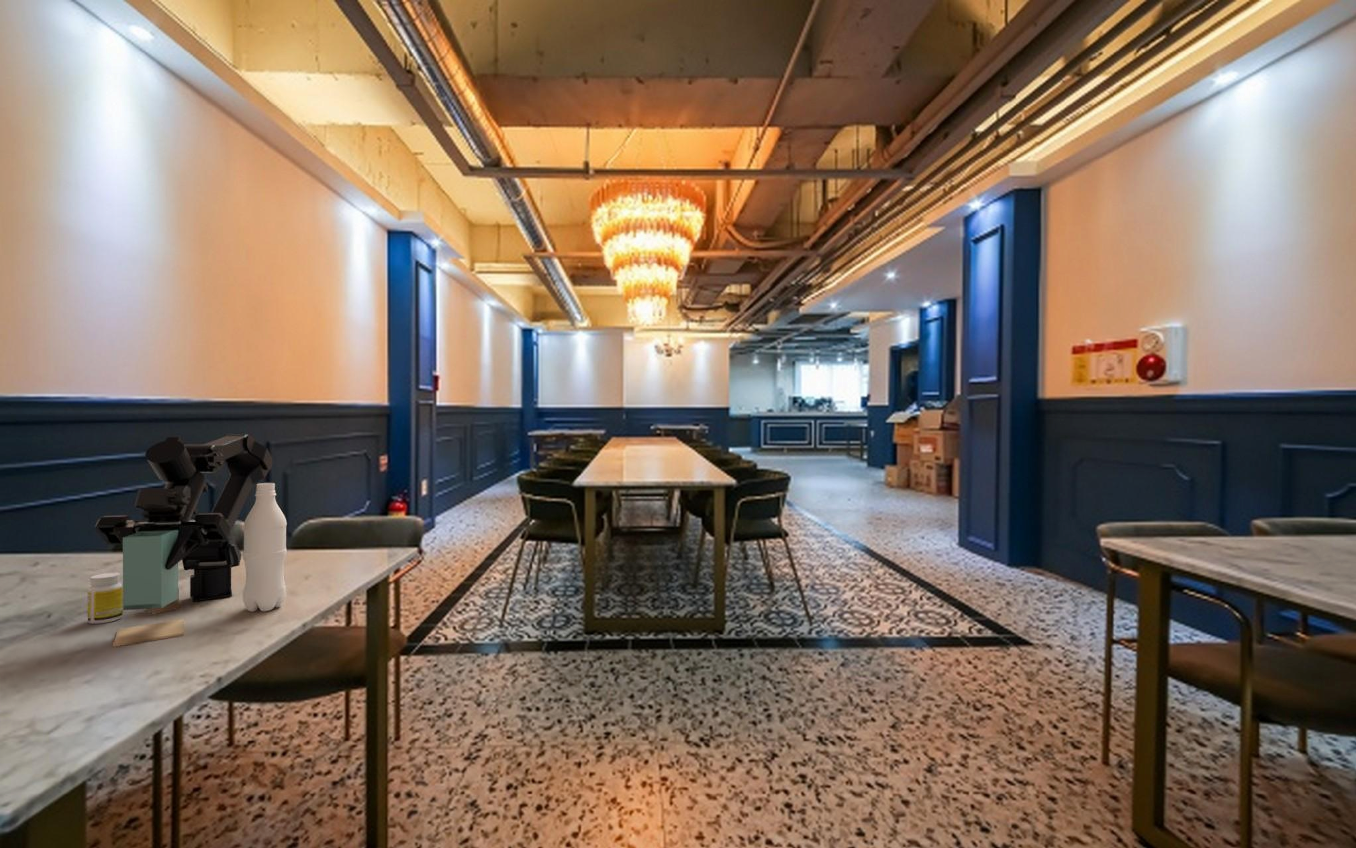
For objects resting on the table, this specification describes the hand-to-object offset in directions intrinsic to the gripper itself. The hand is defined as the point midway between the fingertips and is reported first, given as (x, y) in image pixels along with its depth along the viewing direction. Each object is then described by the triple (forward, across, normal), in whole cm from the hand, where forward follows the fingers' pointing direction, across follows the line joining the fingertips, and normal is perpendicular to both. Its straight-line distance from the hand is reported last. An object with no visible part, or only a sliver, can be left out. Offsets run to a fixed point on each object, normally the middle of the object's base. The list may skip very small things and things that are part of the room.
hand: (146, 569), depth 104 cm
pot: (+4, 0, +6) cm, 7 cm away
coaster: (+7, 0, +9) cm, 12 cm away
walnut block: (-3, -5, +20) cm, 21 cm away
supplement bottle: (0, -12, +16) cm, 20 cm away
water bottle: (0, +14, +17) cm, 22 cm away
